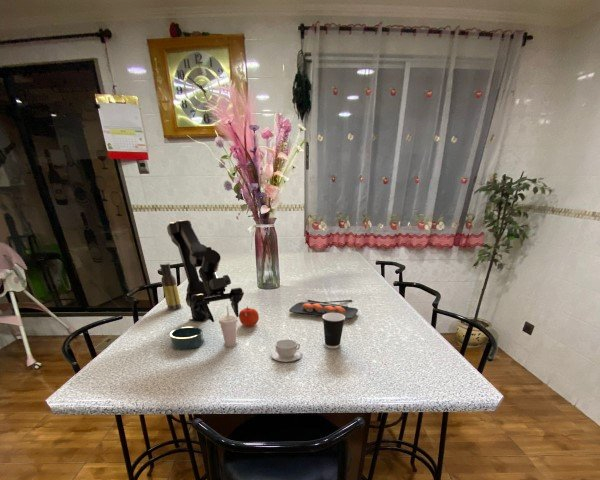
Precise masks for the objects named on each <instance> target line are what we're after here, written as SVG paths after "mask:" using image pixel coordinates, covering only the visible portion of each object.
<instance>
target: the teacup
mask: <svg viewBox="0 0 600 480" xmlns="http://www.w3.org/2000/svg"><path fill="white" fill-rule="evenodd" d="M274 346H275V351H274V352H272V354H271V357H272V359H274V360H275V361H277V362H285V363H286V362H287V363H288V362H294V361H297V360H299V359H300V358H301V357H302V353H301V352H300V351H298V350H299V349H300V348H301V344H300V343H298V342H297V341H296V340H293V339H287V338H286V339H279V340H277V341H276V342H275V343H274Z"/></svg>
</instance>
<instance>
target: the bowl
mask: <svg viewBox="0 0 600 480" xmlns="http://www.w3.org/2000/svg"><path fill="white" fill-rule="evenodd" d="M169 337H170V343H171V345H172V348H173V347H174V348H175V349H178V350H183V351H185V350H193V349H196V348H199V347H200V346H202V345H203V344H204V341H205V340H204V335H203V329H202V328H200V327H197V326H183V327H179V328H176V329H173V330H172V331H171V332H170V333H169Z"/></svg>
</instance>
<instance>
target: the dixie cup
mask: <svg viewBox="0 0 600 480" xmlns="http://www.w3.org/2000/svg"><path fill="white" fill-rule="evenodd" d="M321 318H322V320H323V334H324V344H325V347H326V348H328V349H330V350H331V349H333V350H334V349H338V348H339V347H340V345H341V341H342V335H343V329H344V322H345V320H346V319H345V316H344V315H343V314H340V313H326V314H324V315H323V316H322V317H321Z"/></svg>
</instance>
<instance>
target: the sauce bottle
mask: <svg viewBox="0 0 600 480" xmlns="http://www.w3.org/2000/svg"><path fill="white" fill-rule="evenodd" d="M159 267H160V269H161V274H162V276H161V285H162V290H163V294H164V299H165V302H166V303H165V304H166V306H167V309H168V310H173V311H174V310H179V309H181V308H182V305H181V303H182V302H181V298H180V294H179V293H180V292H179V289H178V285H177V281H176V278H175V276H174V275H173V274H172V270H171V264H170V262H161V263H160V264H159Z"/></svg>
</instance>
